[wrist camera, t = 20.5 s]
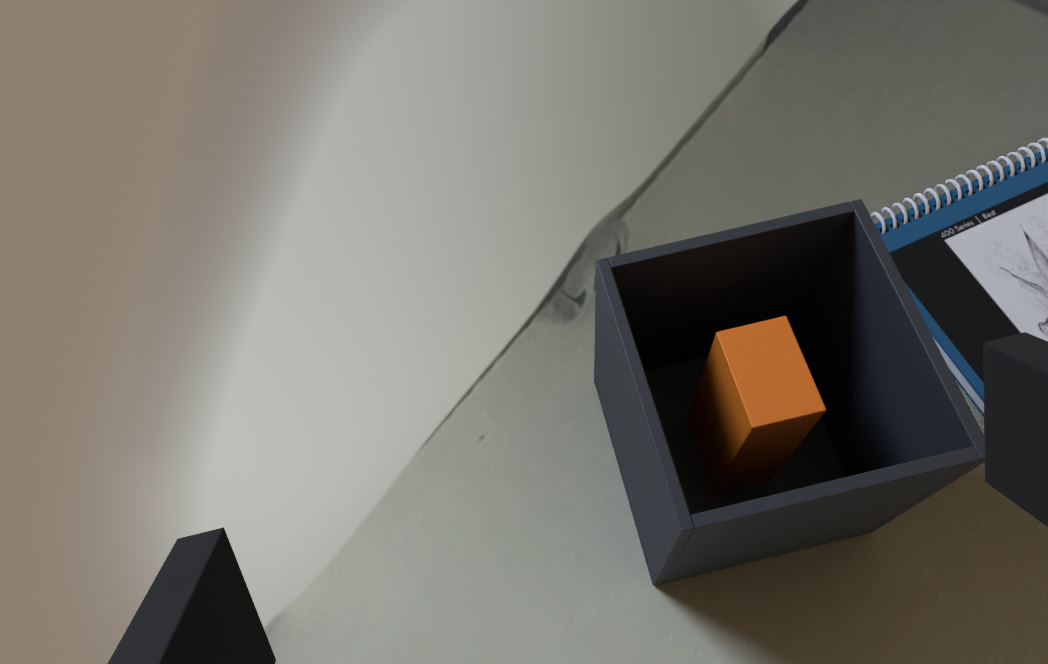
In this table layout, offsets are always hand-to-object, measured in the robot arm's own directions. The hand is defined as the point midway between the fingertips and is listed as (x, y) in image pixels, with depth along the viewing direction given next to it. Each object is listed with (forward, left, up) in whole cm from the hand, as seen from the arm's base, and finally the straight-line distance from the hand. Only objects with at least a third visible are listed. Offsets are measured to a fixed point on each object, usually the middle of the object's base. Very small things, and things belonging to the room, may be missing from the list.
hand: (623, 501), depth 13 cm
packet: (+9, +10, -33) cm, 35 cm away
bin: (+9, +10, -34) cm, 36 cm away
